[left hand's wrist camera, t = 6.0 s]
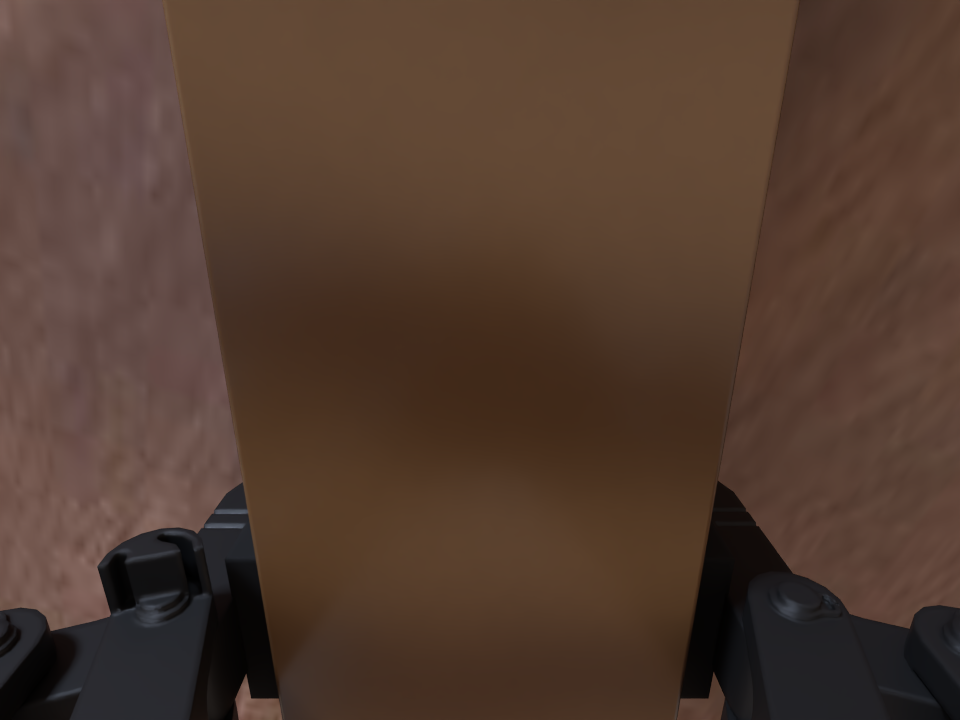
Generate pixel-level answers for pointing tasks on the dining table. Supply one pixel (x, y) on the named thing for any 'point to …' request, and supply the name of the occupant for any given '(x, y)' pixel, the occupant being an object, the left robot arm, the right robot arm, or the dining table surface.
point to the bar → (480, 331)
